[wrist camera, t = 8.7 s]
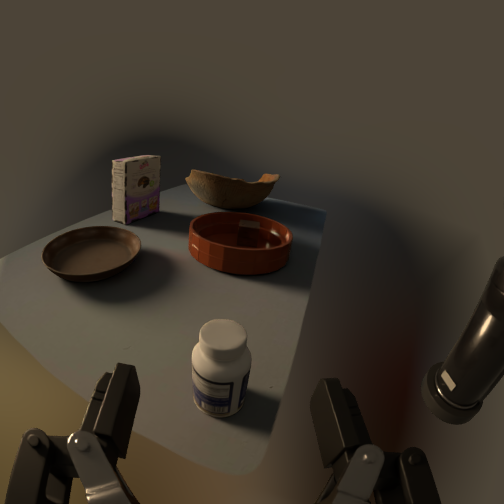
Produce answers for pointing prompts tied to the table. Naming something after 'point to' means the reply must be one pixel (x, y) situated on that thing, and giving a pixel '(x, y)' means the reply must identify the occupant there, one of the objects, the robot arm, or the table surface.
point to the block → (248, 233)
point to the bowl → (235, 256)
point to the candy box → (135, 188)
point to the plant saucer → (91, 253)
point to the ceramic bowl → (230, 189)
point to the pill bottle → (220, 368)
